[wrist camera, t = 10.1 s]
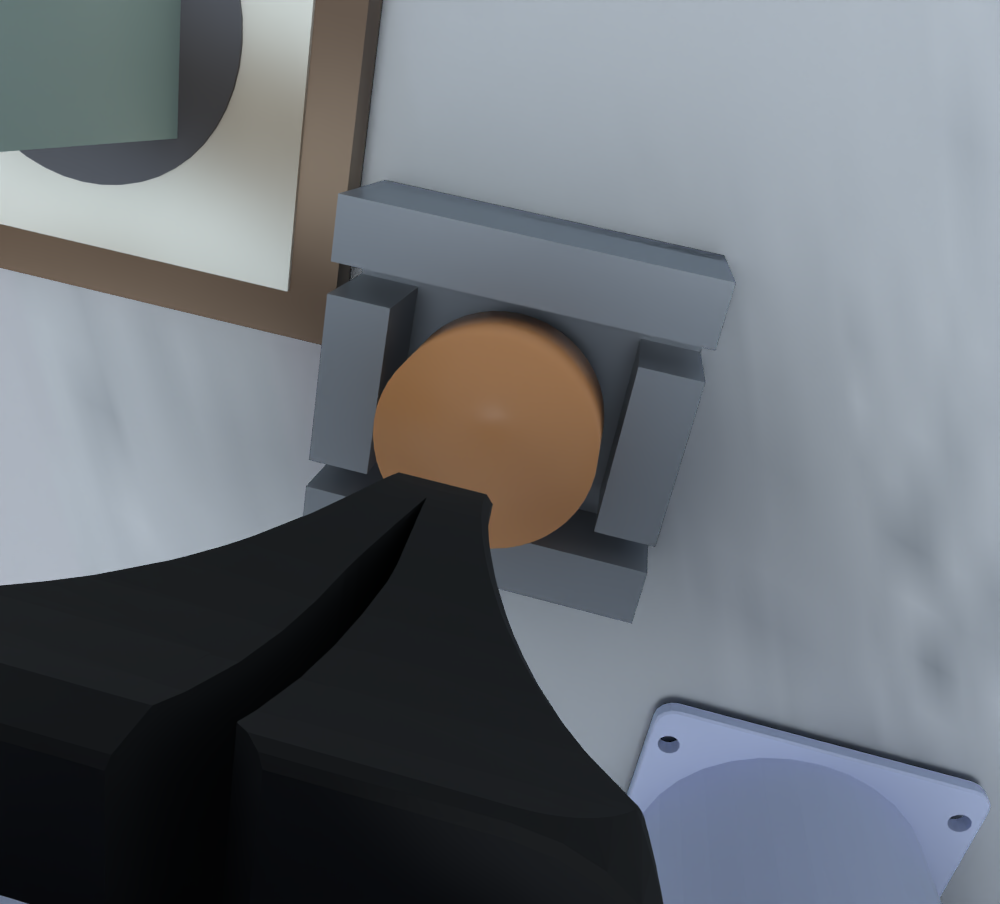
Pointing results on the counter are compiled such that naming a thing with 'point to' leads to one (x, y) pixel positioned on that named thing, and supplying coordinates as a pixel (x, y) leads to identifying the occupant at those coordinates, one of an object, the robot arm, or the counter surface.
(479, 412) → the button
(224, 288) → the drawing board
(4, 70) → the green square bottle
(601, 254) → the button housing
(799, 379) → the counter surface
